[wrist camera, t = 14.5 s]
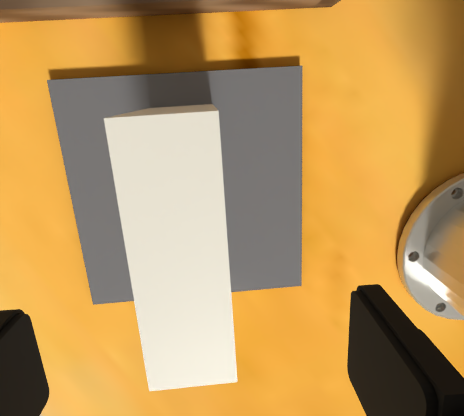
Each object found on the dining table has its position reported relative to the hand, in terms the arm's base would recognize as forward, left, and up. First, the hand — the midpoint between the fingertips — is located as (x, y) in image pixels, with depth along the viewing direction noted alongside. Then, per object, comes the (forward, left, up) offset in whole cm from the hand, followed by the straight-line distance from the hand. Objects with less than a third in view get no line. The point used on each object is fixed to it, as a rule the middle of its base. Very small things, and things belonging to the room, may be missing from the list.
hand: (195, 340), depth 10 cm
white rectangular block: (+1, 0, -15) cm, 15 cm away
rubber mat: (+1, 0, -16) cm, 16 cm away
